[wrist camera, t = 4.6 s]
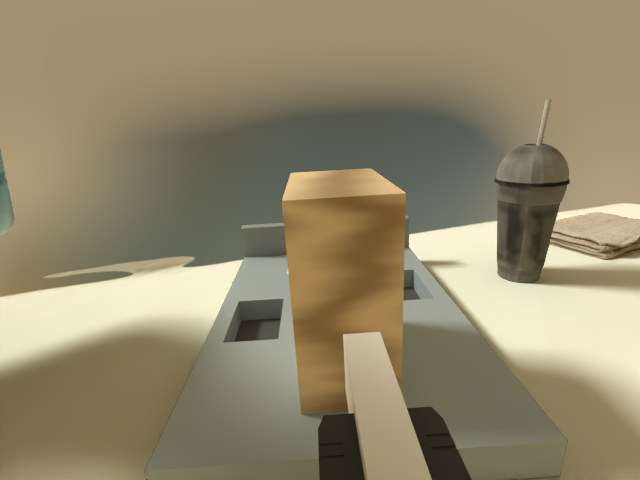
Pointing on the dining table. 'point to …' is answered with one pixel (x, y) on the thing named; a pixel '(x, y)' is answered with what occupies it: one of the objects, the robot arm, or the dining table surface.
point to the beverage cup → (528, 206)
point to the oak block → (342, 274)
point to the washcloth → (598, 235)
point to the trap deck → (302, 430)
